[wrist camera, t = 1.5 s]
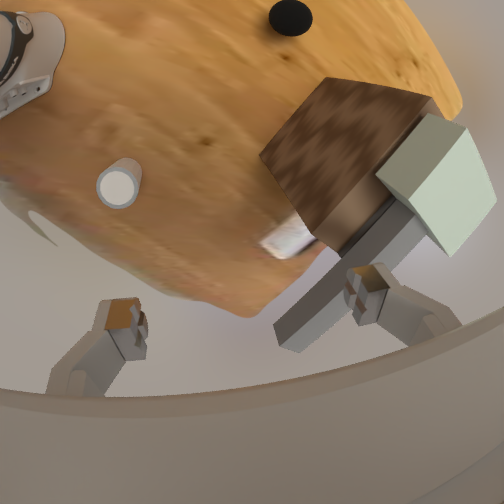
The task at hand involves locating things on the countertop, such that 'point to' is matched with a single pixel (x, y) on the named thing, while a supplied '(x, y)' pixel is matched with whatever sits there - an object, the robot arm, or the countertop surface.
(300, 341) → the grey mallet
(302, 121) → the walnut stand
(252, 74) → the countertop surface
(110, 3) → the countertop surface
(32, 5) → the countertop surface
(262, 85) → the countertop surface
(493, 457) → the robot arm
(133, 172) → the white short cylinder
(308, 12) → the light bulb
